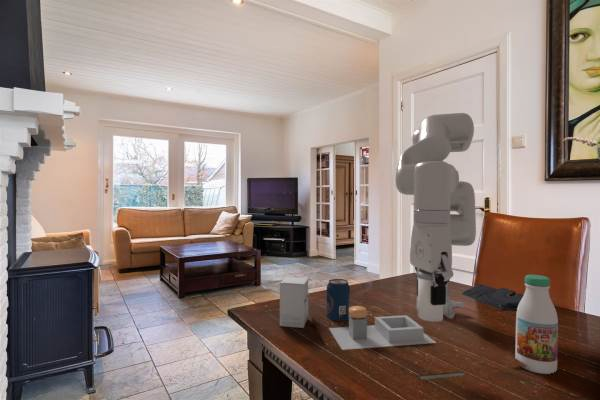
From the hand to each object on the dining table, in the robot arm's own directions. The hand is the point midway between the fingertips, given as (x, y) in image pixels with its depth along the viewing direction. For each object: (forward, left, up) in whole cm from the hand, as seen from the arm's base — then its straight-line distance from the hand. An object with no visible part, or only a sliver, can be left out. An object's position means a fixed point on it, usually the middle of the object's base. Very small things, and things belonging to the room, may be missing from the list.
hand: (430, 299), depth 77 cm
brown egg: (+12, -14, -12) cm, 22 cm away
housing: (+6, -14, -15) cm, 21 cm away
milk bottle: (-23, +4, -15) cm, 28 cm away
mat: (0, 0, -15) cm, 15 cm away
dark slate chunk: (-49, -40, -16) cm, 65 cm away
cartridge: (0, 0, -4) cm, 4 cm away
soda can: (+13, -29, -15) cm, 35 cm away
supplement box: (+26, -30, -15) cm, 43 cm away
